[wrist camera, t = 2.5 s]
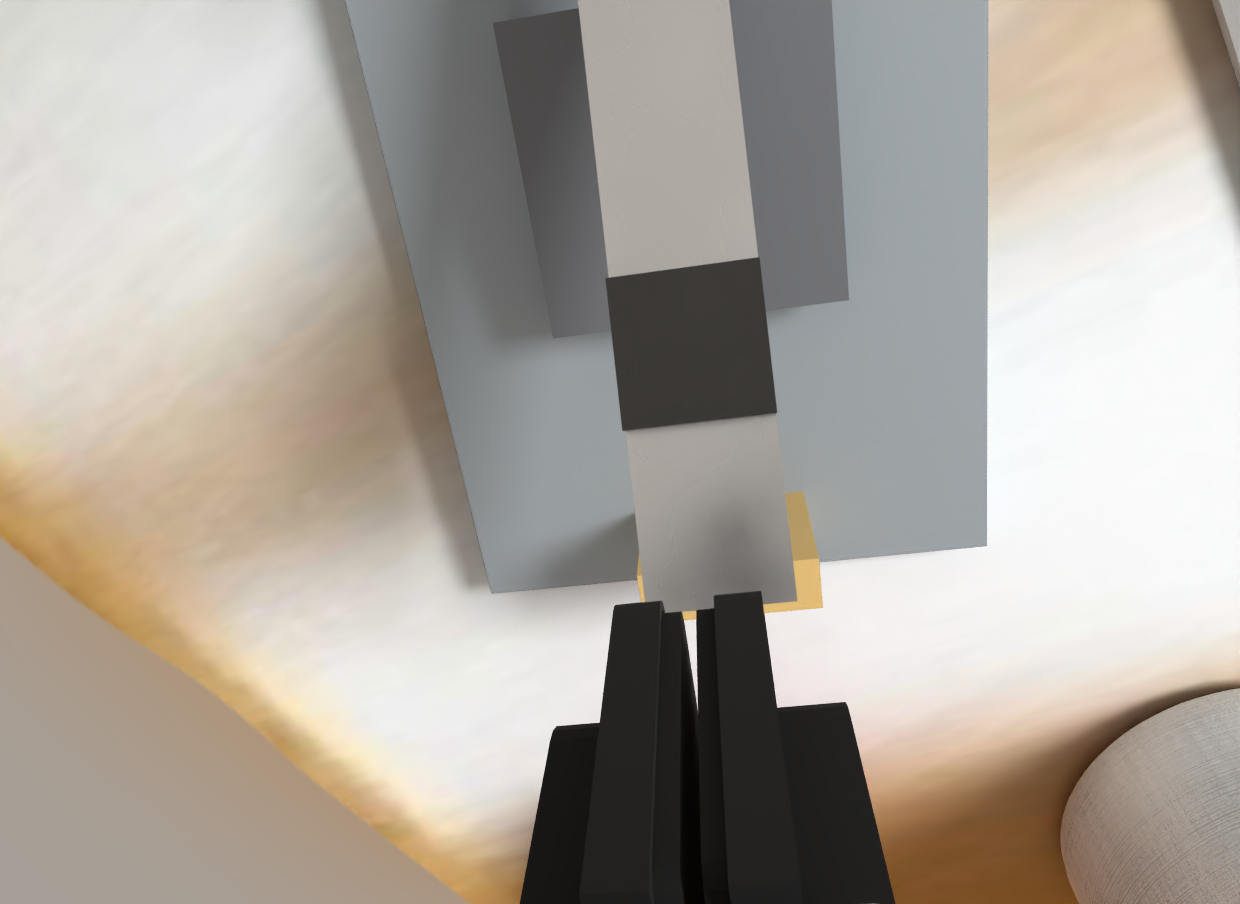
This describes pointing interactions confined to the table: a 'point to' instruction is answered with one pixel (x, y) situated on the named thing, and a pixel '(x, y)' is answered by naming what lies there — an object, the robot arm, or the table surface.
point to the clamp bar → (686, 301)
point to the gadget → (1230, 29)
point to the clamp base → (824, 356)
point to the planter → (1161, 811)
